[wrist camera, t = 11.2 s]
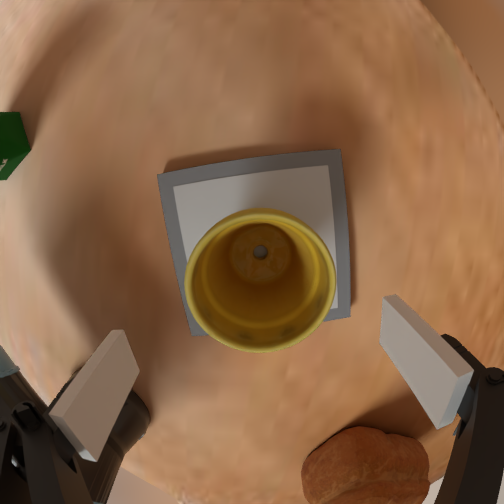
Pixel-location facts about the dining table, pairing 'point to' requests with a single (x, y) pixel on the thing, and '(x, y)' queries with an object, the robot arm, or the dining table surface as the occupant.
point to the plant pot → (260, 281)
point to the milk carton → (11, 143)
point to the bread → (366, 469)
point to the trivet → (260, 196)
